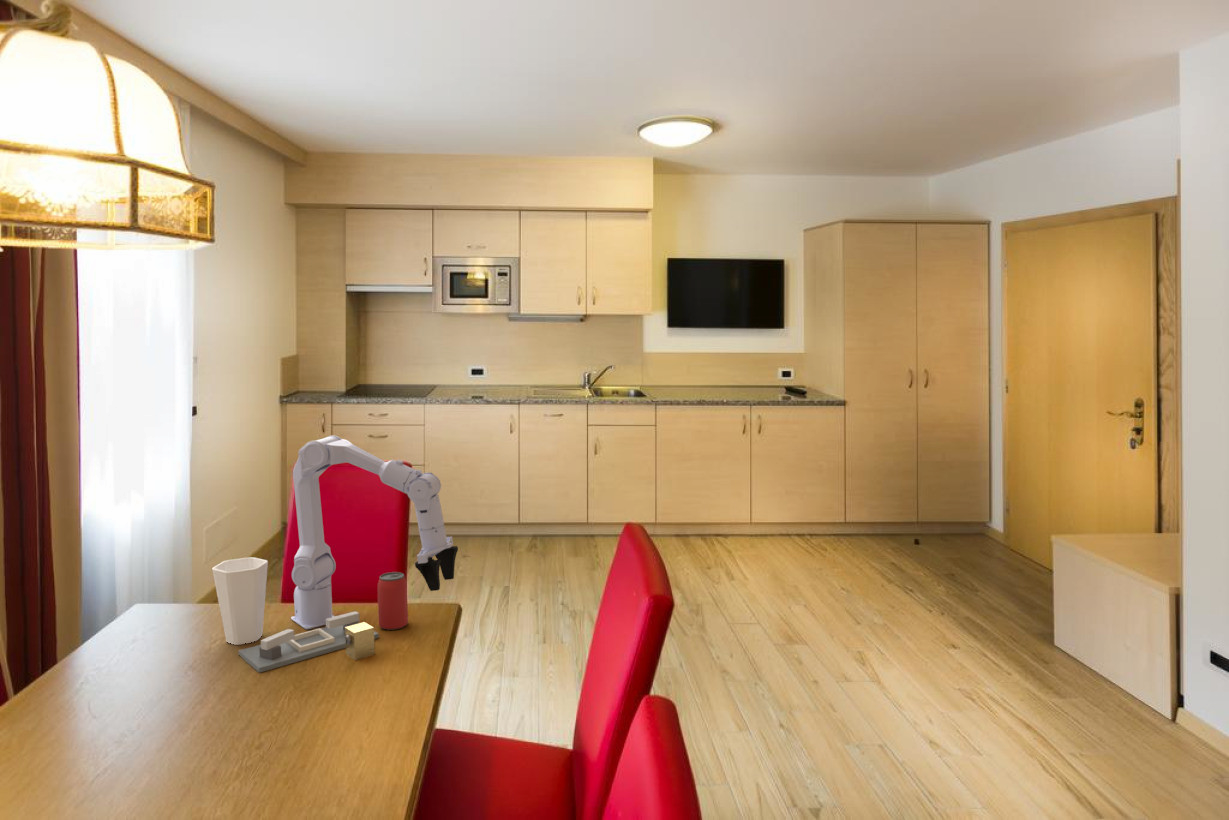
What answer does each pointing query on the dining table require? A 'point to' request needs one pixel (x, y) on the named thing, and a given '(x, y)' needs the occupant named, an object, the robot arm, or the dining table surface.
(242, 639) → the cup
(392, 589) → the beer can
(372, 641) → the block
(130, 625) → the dining table surface
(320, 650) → the shaft board
